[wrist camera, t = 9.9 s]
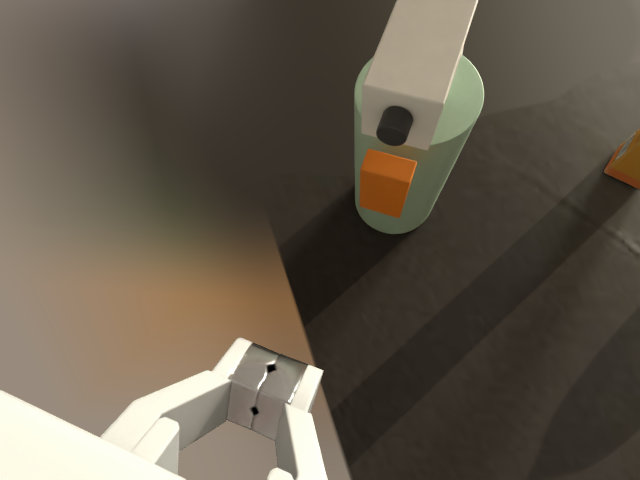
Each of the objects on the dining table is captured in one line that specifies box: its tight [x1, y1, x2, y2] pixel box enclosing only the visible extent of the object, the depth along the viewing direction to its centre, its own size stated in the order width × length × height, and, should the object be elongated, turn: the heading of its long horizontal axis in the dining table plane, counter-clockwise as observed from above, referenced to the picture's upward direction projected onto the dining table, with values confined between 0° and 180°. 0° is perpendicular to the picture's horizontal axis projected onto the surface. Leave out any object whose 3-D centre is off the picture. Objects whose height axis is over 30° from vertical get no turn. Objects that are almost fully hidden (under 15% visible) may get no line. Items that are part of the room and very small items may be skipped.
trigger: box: [360, 149, 417, 218], centre depth 19 cm, size 1×2×4 cm, turn 69°
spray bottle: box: [354, 0, 484, 234], centre depth 23 cm, size 10×7×20 cm
